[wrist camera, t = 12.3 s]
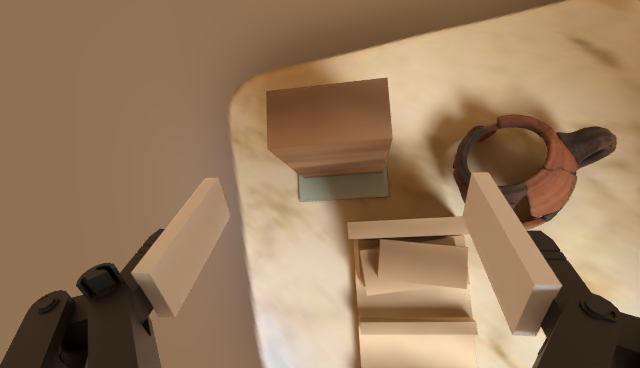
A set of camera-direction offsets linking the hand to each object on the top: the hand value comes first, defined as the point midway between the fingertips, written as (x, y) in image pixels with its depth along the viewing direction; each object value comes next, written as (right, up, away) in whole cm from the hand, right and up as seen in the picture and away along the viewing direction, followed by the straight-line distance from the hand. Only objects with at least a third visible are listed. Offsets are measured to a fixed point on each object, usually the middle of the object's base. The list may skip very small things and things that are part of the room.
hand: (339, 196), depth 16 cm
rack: (+8, -11, +13) cm, 18 cm away
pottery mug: (+17, +1, +13) cm, 22 cm away
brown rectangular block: (+1, +3, +15) cm, 16 cm away
